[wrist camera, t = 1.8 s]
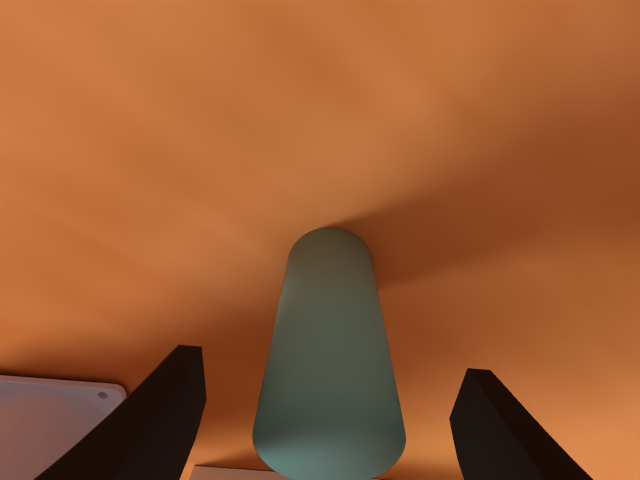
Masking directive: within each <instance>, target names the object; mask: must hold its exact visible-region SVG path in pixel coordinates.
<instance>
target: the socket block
mask: <svg viewBox="0 0 640 480" xmlns="http://www.w3.org/2000/svg"><path fill="white" fill-rule="evenodd" d="M189 480H292V479H289V478H287V477H285V476H283V475H281V474H279V473H278V472H271V471H257V470H243V469H230V468H216V467H203V466H194V467H193V470H192V473H191V476H190V479H189ZM370 480H379V479H370Z"/></svg>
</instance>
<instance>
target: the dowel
mask: <svg viewBox="0 0 640 480" xmlns="http://www.w3.org/2000/svg"><path fill="white" fill-rule="evenodd" d="M252 437H253V444H254V447H255V449H256V451H257V453H258V455H259V456H260V458H261V459H262V460H263V461H264V462H265V463H266V464H267V465H268V466H269V467H270V468H272V469H273V470H274V471H276V472H278V473H279V474H281V475H283V476H285V477H287V478H289V479H292V480H370V479H372V478H375V477H377V476H379V475H381V474H382V473H384V472H385V471H387V470H388V469H390V468H391V467H392V466H393V465H394V464H395V463H396V462H397V461H398V459H399V458H400V456H401V455H402V453H403V450H404V448H405V443H406V434H405V429H404V424H403V418H402V413H401V408H400V403H399V398H398V393H397V388H396V382H395V377H394V372H393V367H392V362H391V357H390V352H389V346H388V341H387V336H386V331H385V326H384V321H383V316H382V310H381V305H380V300H379V295H378V290H377V285H376V280H375V274H374V269H373V264H372V259H371V255H370V252H369V250H368V248H367V246H366V245H365V244H364V242H363V241H362V240H361V239H360V238H358V237H357V236H356V235H354V234H352V233H351V232H348V231H346V230H342V229H338V228H322V229H317V230H314V231H311V232H309V233H307V234H305V235H304V236H302V237H301V238H300V239H299V240H298V241H297V242H296V243H295V244H294V246H293V247H292V249H291V251H290V254H289V258H288V263H287V267H286V272H285V277H284V282H283V287H282V292H281V296H280V301H279V306H278V311H277V316H276V321H275V326H274V330H273V335H272V340H271V345H270V350H269V355H268V359H267V364H266V369H265V374H264V379H263V384H262V389H261V393H260V398H259V403H258V408H257V413H256V418H255V422H254V427H253V435H252Z"/></svg>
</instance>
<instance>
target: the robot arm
mask: <svg viewBox="0 0 640 480" xmlns="http://www.w3.org/2000/svg"><path fill="white" fill-rule="evenodd" d="M205 403H206V389H205V378H204V367H203V357H202V347H198V346H186V345H178V346H177V347H176V348H175V349H174V350H173V351H172V352H171V353H170V354H169V355H168V356H167V357H166V358H165V359H164V360H163V361H162V362H161V363H160V364H159V365H158V366H157V367H156V368H155V370H154V371H153V372H152V373H151V374H150V375H149V376H148V377H147V378H146V379H145V380H144V381H143V382H142V383H141V384H140V385H139V386H138V387H137V388H136V389H135V390H134V391H133V392H132V393H131V394H130V395H129V396H128V397H127V396H126V392H125V390H124V388H123V387H122V386H120V385H118V384H110V383H97V382H84V381H71V380H58V379H45V378H31V377H18V376H5V375H0V480H179V479H180V477H181V474H182V472H183V469H184V467H185V464H186V462H187V459H188V456H189V454H190V451H191V449H192V446H193V444H194V441H195V438H196V435H197V432H198V428H199V425H200V421H201V418H202V414H203V410H204V407H205ZM449 419H450V424H451V429H452V435H453V440H454V445H455V449H456V454H457V458H458V462H459V465H460V468H461V471H462V474H463V478H464V480H593V479H592V478H591V477H590V476H589V475H588V474H587V473H586V472H585V471H584V470H583V469H582V468H581V467H580V466H579V465H578V464H577V463H576V462H575V461H574V460H573V459H572V458H571V457H570V456H569V455H568V454H567V453H566V452H565V451H564V450H563V449H562V448H561V447H560V446H559V445H558V443H557V442H556V441H555V440H554V439H553V438H552V437H551V436H550V435H549V434H548V433H547V432H546V431H545V430H544V429H543V428H542V426H541V425H540V424H539V423H538V422H537V421H536V420H535V419H534V418H533V417H532V416H531V414H530V413H529V412H528V411H527V410H526V409H525V408H524V407H523V406H522V405H521V403H520V402H519V401H518V400H517V399H516V398H515V397H514V396H513V395H512V393H511V392H510V391H509V390H508V389H507V388H506V387H505V386H504V385H503V383H502V382H501V381H500V380H499V379H498V378H497V377H496V376H495V375H494V374H493V373H492V372H491V370H483V369H471V368H468V369H467V371H466V374H465V377H464V380H463V382H462V385H461V388H460V391H459V394H458V396H457V399H456V402H455V405H454V407H453V410H452V413H451V416H450V418H449Z"/></svg>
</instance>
